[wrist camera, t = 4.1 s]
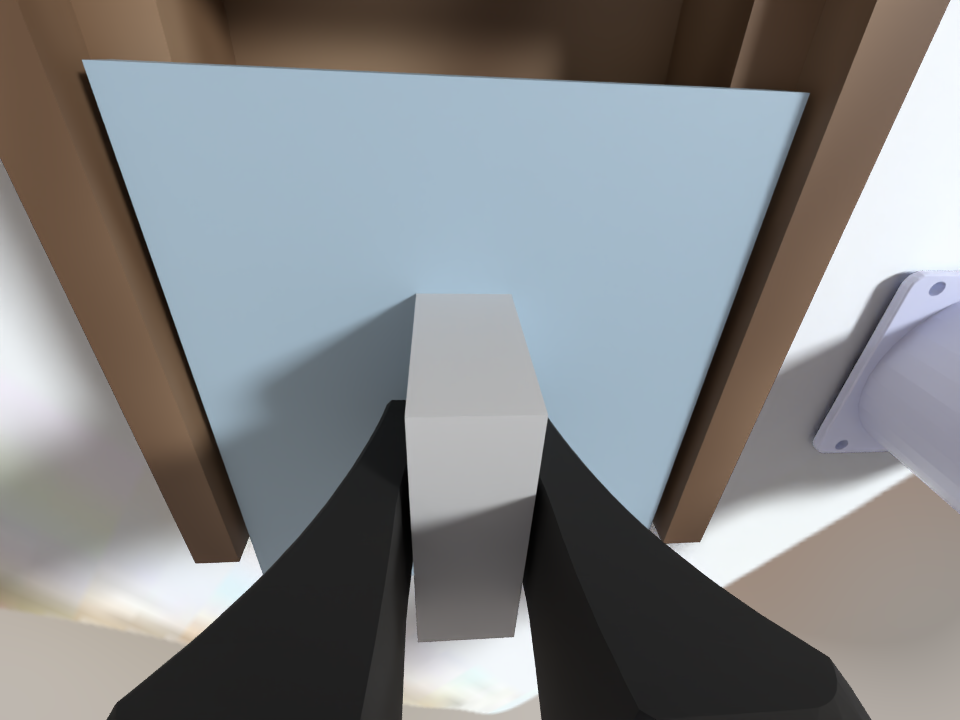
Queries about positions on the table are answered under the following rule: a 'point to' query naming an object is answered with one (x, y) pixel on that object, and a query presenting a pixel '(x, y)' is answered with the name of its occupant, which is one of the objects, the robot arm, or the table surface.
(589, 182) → the cover plate
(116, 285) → the walnut box
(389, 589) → the robot arm
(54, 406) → the table surface
